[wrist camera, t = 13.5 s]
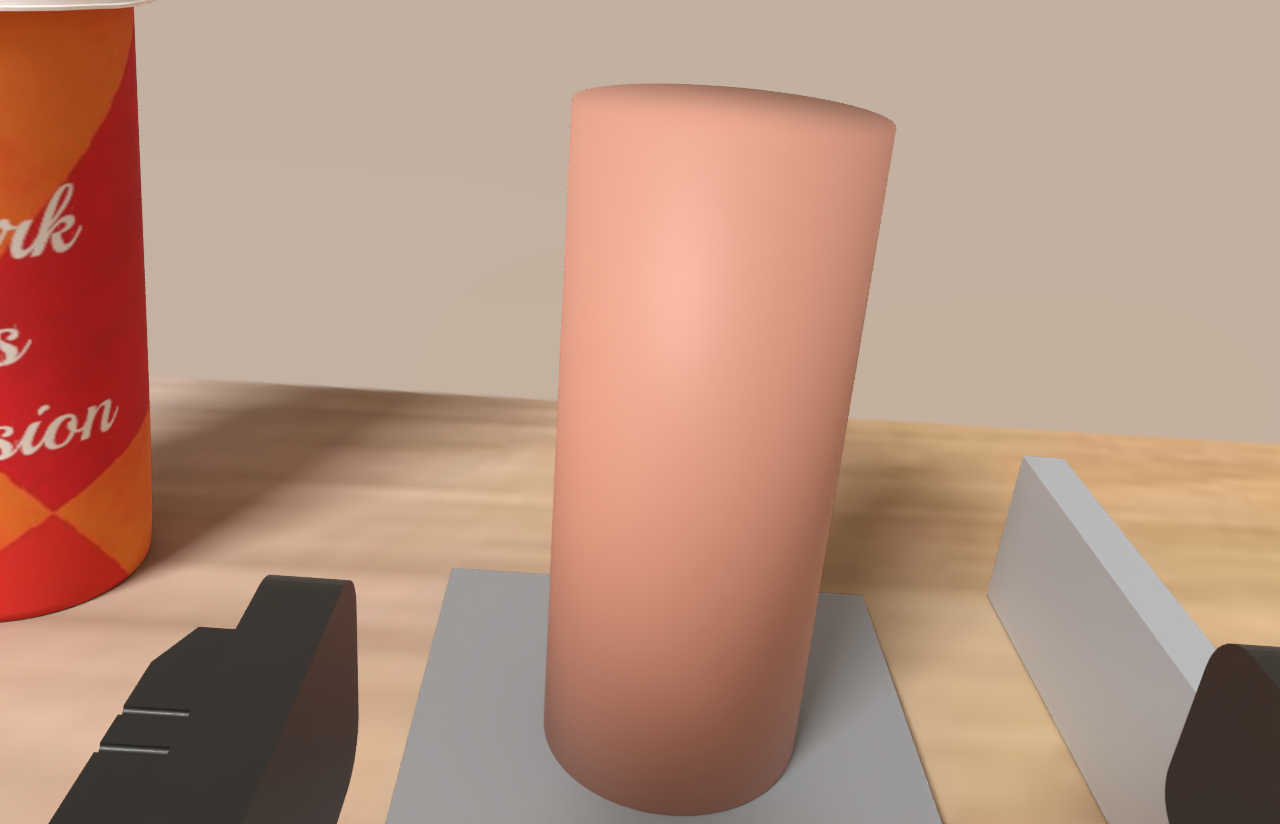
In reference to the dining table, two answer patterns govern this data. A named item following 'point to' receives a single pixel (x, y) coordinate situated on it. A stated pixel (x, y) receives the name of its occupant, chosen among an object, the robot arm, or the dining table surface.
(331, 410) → the dining table surface
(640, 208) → the salmon pink cylinder
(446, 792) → the resting mat
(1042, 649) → the acrylic wall
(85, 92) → the paper cup
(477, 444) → the dining table surface
